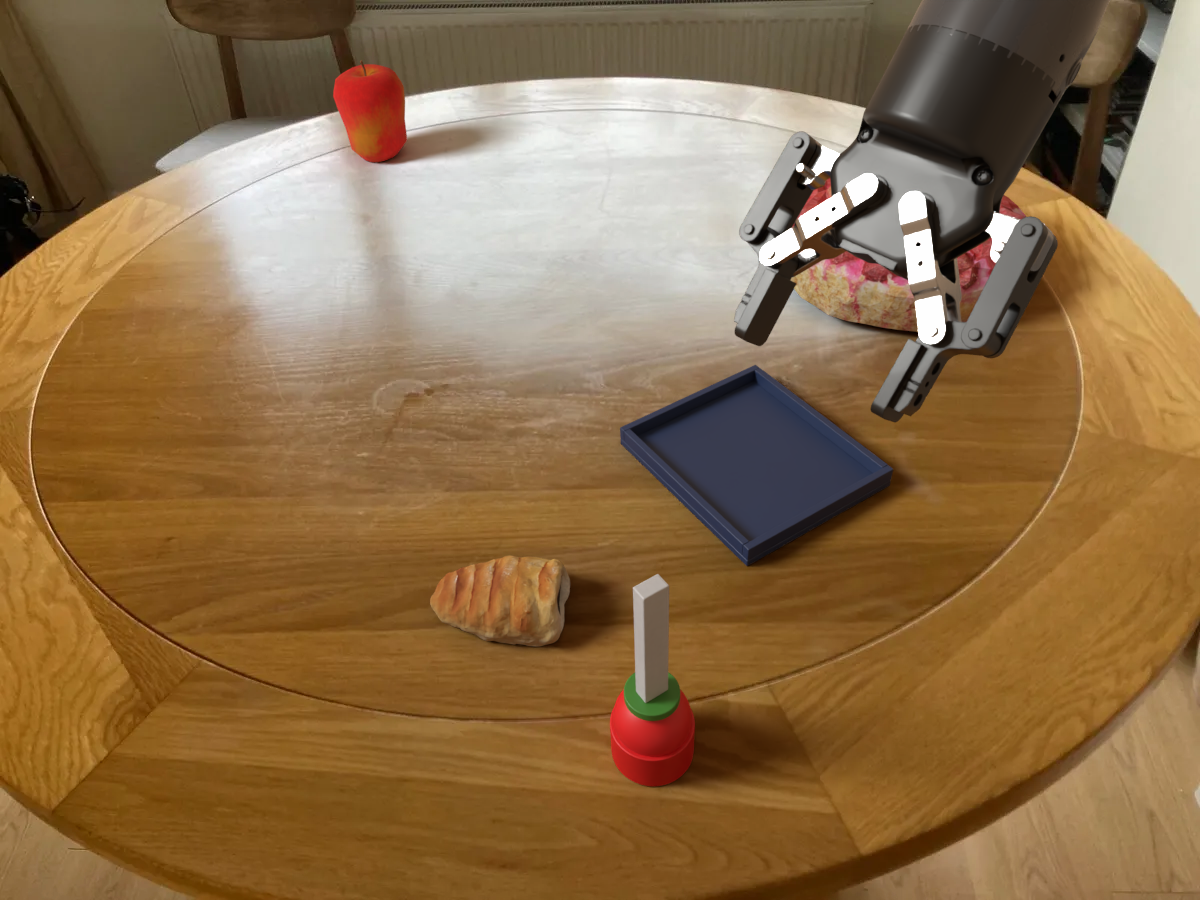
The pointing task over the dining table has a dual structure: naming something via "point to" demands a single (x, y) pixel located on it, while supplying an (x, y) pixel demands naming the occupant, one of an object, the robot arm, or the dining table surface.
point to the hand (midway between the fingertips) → (812, 377)
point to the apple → (372, 110)
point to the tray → (754, 462)
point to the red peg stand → (652, 699)
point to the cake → (885, 281)
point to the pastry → (506, 600)
